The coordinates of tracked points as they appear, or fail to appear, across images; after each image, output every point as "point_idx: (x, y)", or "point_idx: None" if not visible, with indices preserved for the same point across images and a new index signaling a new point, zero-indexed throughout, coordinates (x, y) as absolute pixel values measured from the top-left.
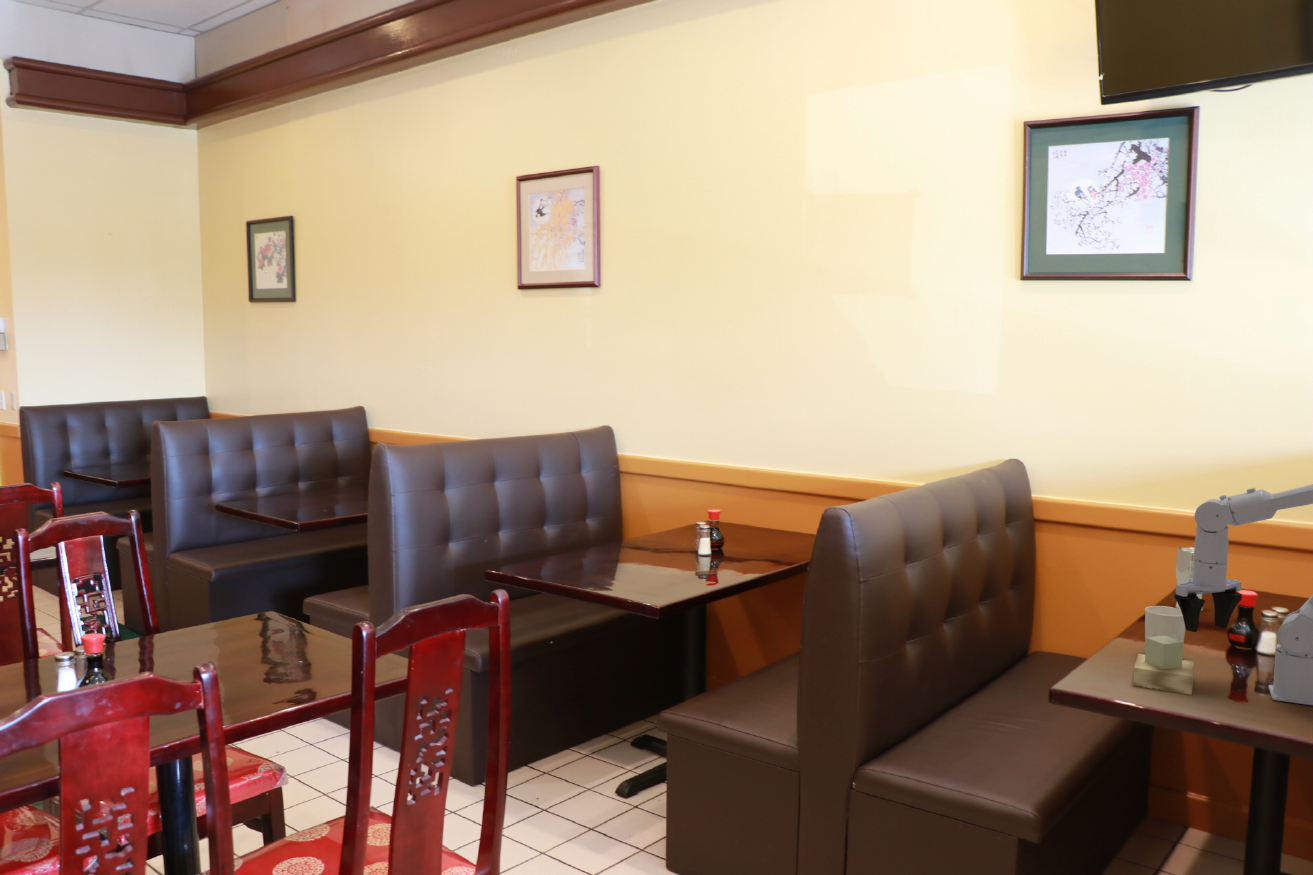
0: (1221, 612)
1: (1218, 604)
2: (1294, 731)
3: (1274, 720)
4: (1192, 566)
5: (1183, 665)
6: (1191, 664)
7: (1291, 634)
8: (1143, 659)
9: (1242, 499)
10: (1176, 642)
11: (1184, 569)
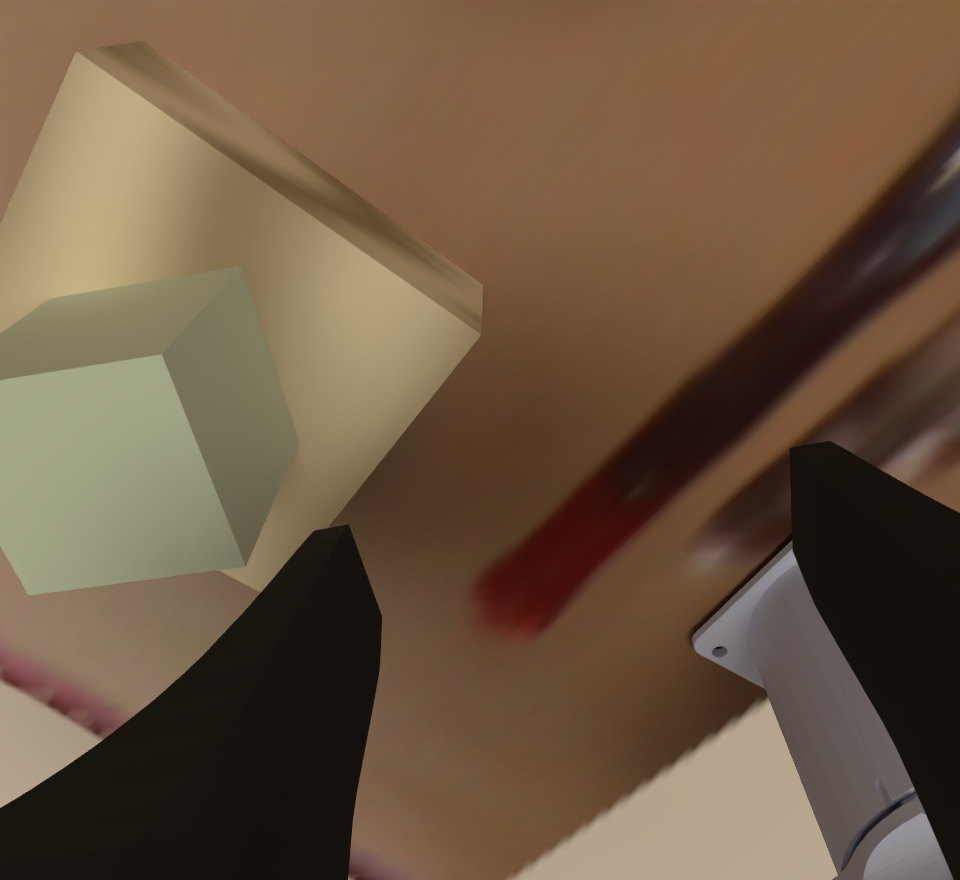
0: (885, 631)
1: (945, 671)
2: (487, 872)
3: (492, 798)
4: None
5: (335, 406)
6: (414, 392)
7: None
8: (63, 232)
9: None
10: (176, 563)
11: None
